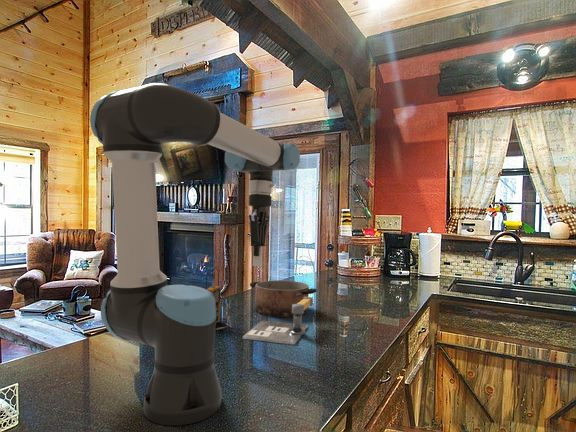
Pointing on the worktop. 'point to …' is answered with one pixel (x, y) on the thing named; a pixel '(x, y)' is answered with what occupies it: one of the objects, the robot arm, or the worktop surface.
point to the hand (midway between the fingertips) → (257, 266)
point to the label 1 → (259, 333)
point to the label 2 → (277, 329)
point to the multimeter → (216, 298)
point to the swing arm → (302, 305)
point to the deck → (288, 338)
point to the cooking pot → (279, 296)
